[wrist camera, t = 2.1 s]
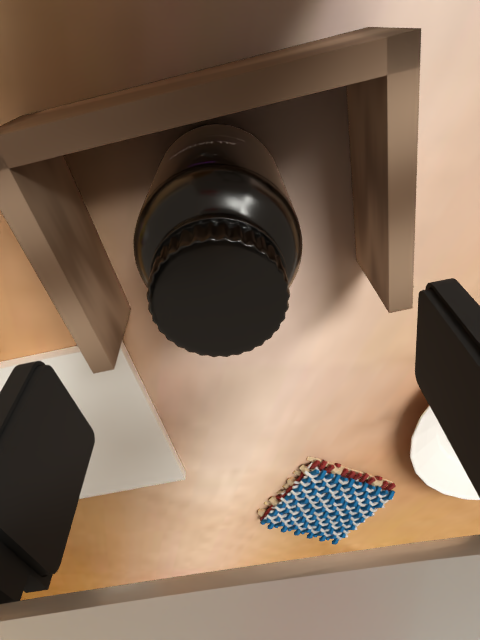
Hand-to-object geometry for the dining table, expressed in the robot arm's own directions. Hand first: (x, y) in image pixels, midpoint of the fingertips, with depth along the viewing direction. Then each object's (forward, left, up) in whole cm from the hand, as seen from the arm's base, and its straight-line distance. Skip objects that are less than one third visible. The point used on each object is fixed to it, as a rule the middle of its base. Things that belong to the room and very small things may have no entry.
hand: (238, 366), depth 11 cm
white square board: (-17, +17, -16) cm, 29 cm away
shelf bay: (-1, 0, -16) cm, 16 cm away
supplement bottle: (0, 0, -16) cm, 16 cm away
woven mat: (-33, -3, -16) cm, 37 cm away
